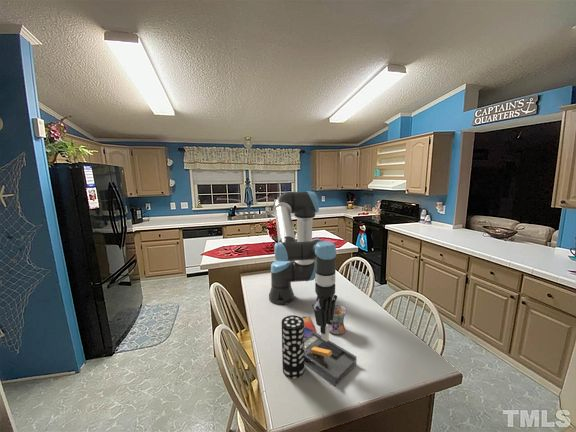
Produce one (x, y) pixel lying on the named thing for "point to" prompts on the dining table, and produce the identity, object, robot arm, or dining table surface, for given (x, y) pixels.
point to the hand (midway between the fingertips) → (324, 339)
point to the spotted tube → (293, 346)
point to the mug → (338, 320)
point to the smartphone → (308, 326)
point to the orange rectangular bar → (321, 351)
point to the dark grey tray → (328, 359)
